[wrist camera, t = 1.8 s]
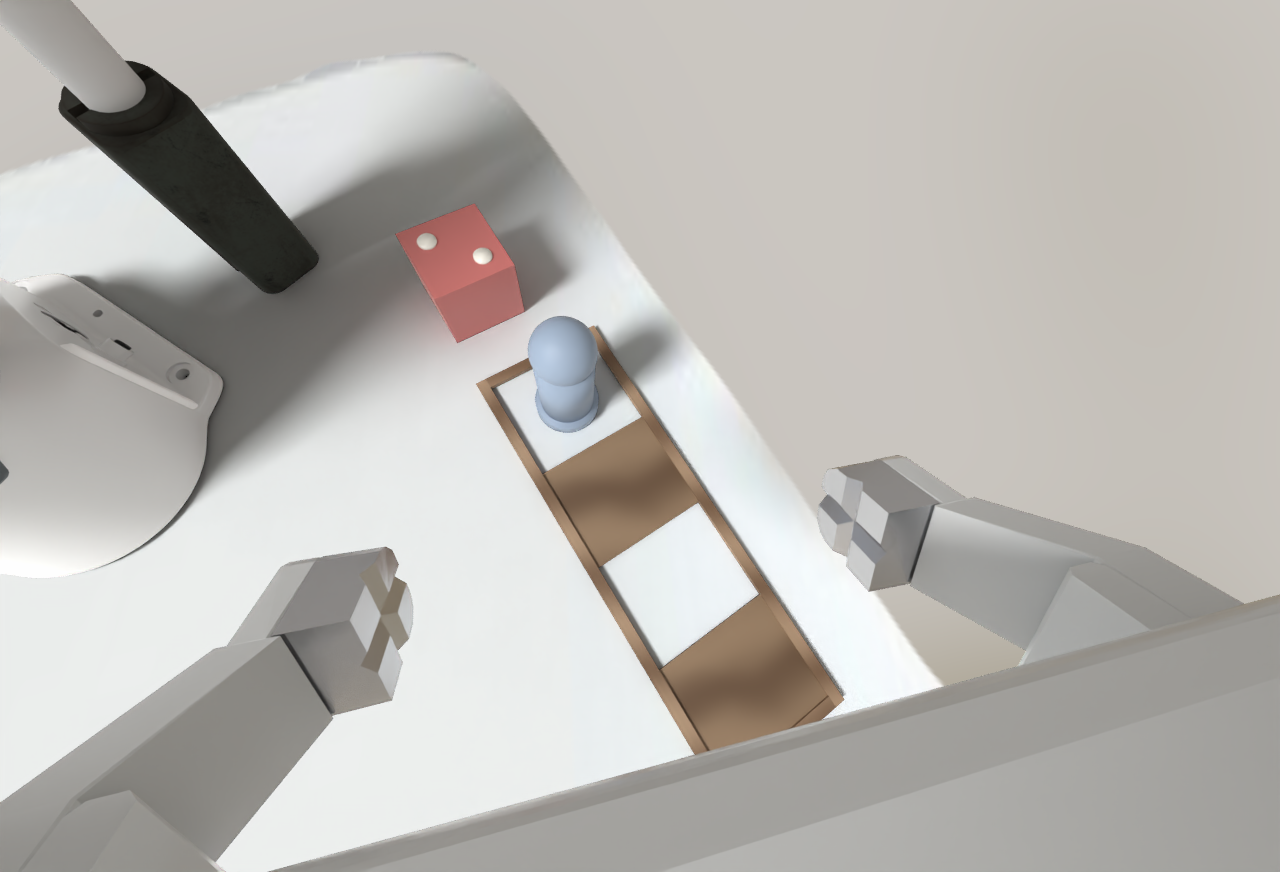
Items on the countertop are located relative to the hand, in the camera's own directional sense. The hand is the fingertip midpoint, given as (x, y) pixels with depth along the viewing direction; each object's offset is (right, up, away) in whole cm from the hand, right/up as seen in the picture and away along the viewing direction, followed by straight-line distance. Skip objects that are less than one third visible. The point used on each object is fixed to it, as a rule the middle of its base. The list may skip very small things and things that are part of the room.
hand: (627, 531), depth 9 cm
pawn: (-6, +4, +27) cm, 28 cm away
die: (-14, +13, +29) cm, 35 cm away
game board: (+1, -6, +25) cm, 26 cm away
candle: (-29, +16, +28) cm, 43 cm away
